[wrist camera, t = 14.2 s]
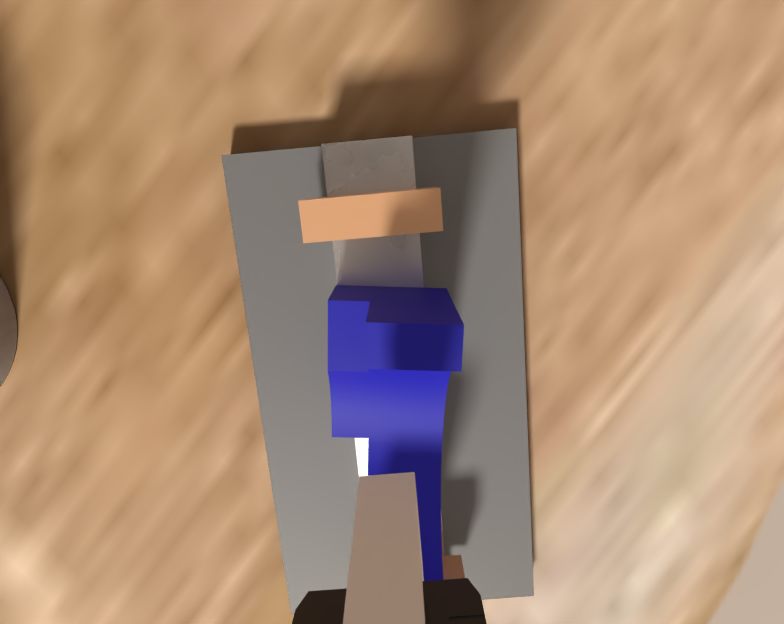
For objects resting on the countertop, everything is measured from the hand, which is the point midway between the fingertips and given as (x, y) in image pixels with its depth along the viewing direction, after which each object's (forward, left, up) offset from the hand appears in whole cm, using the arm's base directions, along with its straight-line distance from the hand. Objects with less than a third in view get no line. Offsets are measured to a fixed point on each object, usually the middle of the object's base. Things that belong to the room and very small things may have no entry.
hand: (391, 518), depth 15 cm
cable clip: (+1, 0, -9) cm, 9 cm away
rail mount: (+1, 0, -11) cm, 11 cm away
